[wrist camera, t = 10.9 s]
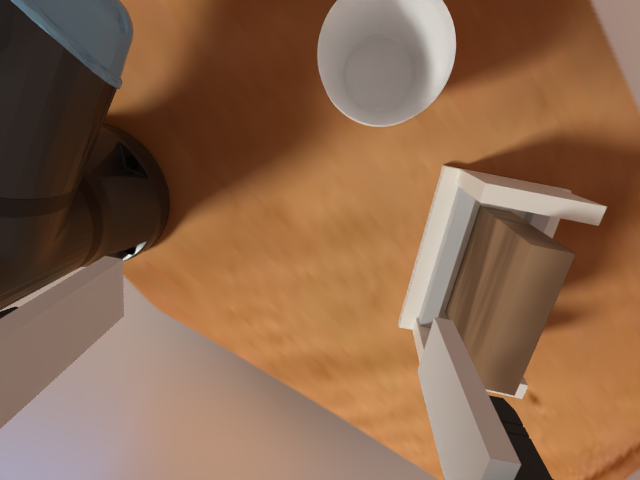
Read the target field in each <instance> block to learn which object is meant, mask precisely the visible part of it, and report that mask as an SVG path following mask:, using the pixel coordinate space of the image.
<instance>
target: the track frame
mask: <svg viewBox="0 0 640 480" xmlns="http://www.w3.org/2000/svg"><path fill="white" fill-rule="evenodd" d="M480 205H481V206H486V207H491V208H496V209H501V210H506V211H511V212H512V213H514V214H515V215H517V216H519V217H520V218H522V219H523V220H525V221H526V222H528V223H529V224H531V225H532V226H534V227H535V228H537V229H538V230H540V231H542V232H543V233H545V234H546V235H548V236H549V237H551V238H553V236H554V233H555V231H556V229H557V226H558V224H559V221H560V219H567V220H572V221H577V222H582V223H587V224H592V225H597V226H599V224H600V222H601V219H602V217H603V215H604V213H605V210H606V208H607V207H606V206H603V205H601V204H598V203H595V202H593V201H590V200H587V199H585V198H582V197H579V196H577V195H574V194H571V190H568V189H565V188H560V187H554V186H549V185H544V184H539V183H534V182H529V181H523V180H518V179H513V178H508V177H503V176H498V175H492V174H487V173H482V172H477V171H472V170H467V169H461V168H456V167H451V166H446V165H443V166H442V170H441V173H440V177H439V180H438V184H437V187H436V191H435V194H434V198H433V201H432V205H431V208H430V212H429V215H428V219H427V223H426V226H425V230H424V233H423V237H422V240H421V244H420V247H419V251H418V254H417V258H416V261H415V265H414V268H413V272H412V275H411V279H410V283H409V286H408V290H407V293H406V297H405V300H404V304H403V307H402V311H401V314H400V318H399V321H398V324H399V327H401V328H406V329H410V330H412V331H413V335H414V340H415V344H416V349H417V353H418V358H419V362H421V358H422V355H423V352H424V349H425V346H426V342H427V339H428V336H429V333H430V329H431V326H432V323H433V320H434V317H436V318H442V319H447V320H448V318H447V315H446V313H445V311H446V308H447V305H448V302H449V299H450V296H451V293H452V289H453V286H454V283H455V280H456V277H457V274H458V271H459V268H460V265H461V262H462V259H463V256H464V253H465V250H466V247H467V244H468V241H469V237H470V234H471V231H472V228H473V225H474V222H475V219H476V216H477V213H478V210H479V207H480ZM527 387H528V384H527V383H526V381H525V379H524V378H522V380H521V382H520V385H519V387H518V389H517V392H516V394H515V396H513V395H509V394H504V393H500V392H495V391H491V390H486V391H489V392H493V393H498V394H502V395H507V396H511V397H516V398H520V399H523V396H524V394H525V392H526V389H527Z"/></svg>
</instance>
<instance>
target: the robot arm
mask: <svg viewBox="0 0 640 480" xmlns="http://www.w3.org/2000/svg"><path fill="white" fill-rule="evenodd" d="M132 38H133V25H132V21H131V18H130V15H129V13H128V11H127V10H126V8H125V7H124V5H123V4H122V3H121V2H120V0H0V310H2V309H3V308H5V307H7V306H9V305H11V304H13V303H14V302H16V301H18V300H20V299H22V298H24V297H26V296H28V295H29V294H31V293H33V292H35V291H37V290H39V289H40V288H42V287H44V286H46V285H48V284H50V283H52V282H54V281H55V280H57V279H59V278H61V277H63V276H65V275H67V274H68V273H70V272H72V271H74V270H76V269H78V268H80V267H86V268H84V269H83V270H81V271H79V272H77V273H76V274H74V275H72V276H71V277H69V278H67V279H66V280H64V281H62V282H61V283H59V284H57V285H56V286H54V287H52V288H51V289H49V290H47V291H46V292H44V293H43V294H41V295H39V296H37V297H36V298H34V299H32V300H31V301H29V302H27V303H26V304H24V305H23V306H21V307H13V308H10V309H7V310H4V311H1V312H0V429H1V428H2V427H3V426H4V425H5V424H6V423H7V422H8V421H9V420H11V419H12V418H13V417H14V416H15V415H16V414H17V413H18V412H19V411H20V410H21V409H23V408H24V407H25V406H26V405H27V404H28V403H29V402H30V401H31V400H32V399H33V398H35V397H36V396H37V395H38V394H39V393H40V392H41V391H42V390H43V389H44V388H46V386H48V385H49V384H50V383H51V382H52V381H53V380H54V379H55V378H56V377H57V376H59V375H60V374H61V373H62V372H63V371H64V370H65V369H66V368H67V367H68V366H70V365H71V364H72V363H73V362H74V361H75V360H76V359H77V358H78V357H79V356H80V355H81V354H83V353H84V352H85V351H86V350H87V349H88V348H89V347H90V346H91V345H92V344H94V342H96V341H97V340H98V339H99V338H100V337H101V336H102V335H103V334H104V333H106V332H107V331H108V330H109V329H110V328H111V327H112V326H113V325H114V324H115V323H117V322H118V321H119V320H120V319H121V318H122V317H123V316H124V305H123V261H126V260H129V259H131V258H133V257H135V256H137V255H138V254H140V253H142V252H143V251H145V250H147V249H148V248H149V247H151V246H152V245H153V244H154V243H155V242H156V241H157V239H158V238H159V237H160V235H161V234H162V232H163V230H164V228H165V225H166V222H167V218H168V213H169V195H168V190H167V185H166V182H165V179H164V176H163V174H162V172H161V170H160V168H159V166H158V164H157V162H156V161H155V159H154V158H153V157H152V155H151V154H150V153H149V152H148V150H147V149H146V148H145V147H144V146H143V145H142V144H141V143H140V142H138V141H137V140H136V139H135V138H133V137H132V136H130V135H129V134H127V133H126V132H124V131H122V130H120V129H118V128H115V127H112V126H109V125H106V124H103V122H104V120H105V117H106V115H107V112H108V110H109V107H110V105H111V102H112V100H113V97H114V95H115V92H116V90H117V89H120V87H121V85H122V81H121V75H122V71H123V68H124V64H125V61H126V57H127V54H128V51H129V48H130V45H131V42H132ZM417 372H418V376H419V380H420V384H421V388H422V392H423V396H424V400H425V404H426V408H427V412H428V416H429V420H430V424H431V428H432V431H433V435H434V439H435V443H436V447H437V451H438V455H439V459H440V463H441V467H442V471H443V475H444V479H445V480H554V479H552V478H551V476H550V474H549V472H548V470H547V468H546V466H545V465H544V463H543V461H542V459H541V457H540V455H539V454H538V452H537V450H536V448H535V446H534V444H533V442H532V441H531V439H530V438H529V435H528V433H527V431H526V429H525V428H524V427H523V424H522V422H521V420H520V418H519V417H518V415H517V413H516V411H515V410H514V409H513V408H512V407H511V406H510V405H509V404H508V403H507V402H506V401H505V400H504V399H503V398H500V397H494V396H489V395H488V393H487V391H486V389H485V387H484V385H483V383H482V381H481V379H480V377H479V375H478V372H477V370H476V368H475V366H474V364H473V362H472V360H471V358H470V356H469V354H468V351H467V349H466V347H465V345H464V343H463V341H462V339H461V337H460V335H459V333H458V330H457V328H456V326H455V324H454V322H453V321H452V320H447V319H442V318H436V317H434V320H433V323H432V326H431V329H430V333H429V336H428V339H427V342H426V346H425V349H424V352H423V355H422V358H421V362H420V365H419V368H418V371H417Z"/></svg>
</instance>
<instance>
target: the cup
mask: <svg viewBox="0 0 640 480" xmlns="http://www.w3.org/2000/svg"><path fill="white" fill-rule="evenodd" d="M455 53H456V35H455V28H454V24H453V20H452V18H451V15H450V13H449V10H448V8H447V6H446V5H445V3H444V2H443V0H337V1H336V2H335V3H334V5H333V6H332V8H331V9H330V11H329V12H328V14H327V16H326V18H325V20H324V23H323V25H322V28H321V32H320V35H319V40H318V48H317V61H318V69H319V73H320V77H321V80H322V83H323V85H324V88H325V90H326V93H327V95H328V96H329V98H330V100H331V101H332V102H333V104H334V105H335V106H336V107H337V108H338V109H339V110H340V111H341V112H342V113H343V114H344V115H346V116H347V117H348V118H350V119H352V120H354V121H356V122H358V123H361V124H364V125H368V126H374V127H386V126H392V125H396V124H400V123H402V122H405V121H407V120H409V119H411V118H413V117H414V116H416V115H417V114H419V113H421V112H422V111H423V110H425V109H426V108H427V107H428V106H429V105H430V104H431V103H432V102H433V101H434V100H435V99H436V98H437V97H438V95H439V94H440V93H441V91H442V90H443V88H444V87H445V85H446V83H447V81H448V79H449V76H450V74H451V71H452V68H453V64H454V60H455Z"/></svg>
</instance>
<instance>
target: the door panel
mask: <svg viewBox="0 0 640 480" xmlns="http://www.w3.org/2000/svg"><path fill="white" fill-rule="evenodd" d="M575 255H576V254H575V253H574V252H572V251H571V250H569V249H568V248H566V247H565V246H563V245H562V244H560V243H558V242H557V241H555V240H554V239H552V238H551V237H549V236H548V235H546V234H545V233H543V232H542V231H540V230H538V229H537V228H535V227H534V226H532V225H531V224H529V223H528V222H526V221H525V220H523V219H522V218H520V217H519V216H517V215H515V214H514V213H512V212H511V211H506V210H501V209H496V208H491V207H486V206H481V205H480V207H479V210H478V213H477V216H476V219H475V222H474V225H473V228H472V231H471V234H470V237H469V241H468V244H467V247H466V250H465V253H464V256H463V259H462V262H461V265H460V268H459V271H458V274H457V277H456V280H455V283H454V286H453V289H452V293H451V296H450V299H449V302H448V305H447V308H446V311H445V313H446V315H447V318H448V320H452V321H453V322H454V324H455V326H456V328H457V330H458V333H459V335H460V337H461V339H462V341H463V343H464V345H465V347H466V349H467V351H468V354H469V356H470V358H471V360H472V362H473V364H474V366H475V368H476V370H477V372H478V375H479V377H480V379H481V381H482V383H483V385H484V387H485V389H486V390H491V391H495V392H500V393H504V394H509V395H513V396H515V394H516V392H517V389H518V387H519V385H520V382H521V380H522V378H523V375H524V373H525V371H526V368H527V366H528V364H529V361H530V359H531V357H532V354H533V352H534V350H535V348H536V345H537V343H538V341H539V338H540V336H541V334H542V331H543V329H544V327H545V324H546V322H547V320H548V317H549V315H550V313H551V310H552V308H553V306H554V303H555V301H556V299H557V297H558V294H559V292H560V290H561V287H562V285H563V283H564V280H565V278H566V276H567V273H568V271H569V269H570V266H571V264H572V262H573V259H574V257H575Z"/></svg>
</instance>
